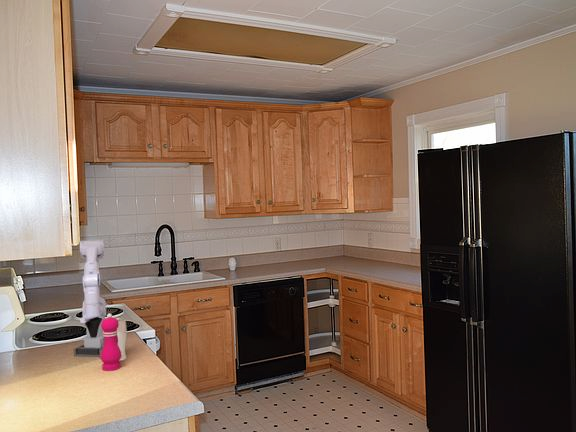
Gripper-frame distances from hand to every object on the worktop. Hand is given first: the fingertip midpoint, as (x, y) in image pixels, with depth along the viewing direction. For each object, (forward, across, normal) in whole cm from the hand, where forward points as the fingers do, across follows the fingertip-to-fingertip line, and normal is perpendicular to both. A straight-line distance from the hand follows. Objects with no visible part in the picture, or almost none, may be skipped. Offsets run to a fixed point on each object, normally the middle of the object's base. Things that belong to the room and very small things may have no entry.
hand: (93, 336), depth 201 cm
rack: (+7, 0, 0) cm, 7 cm away
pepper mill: (+7, +17, +17) cm, 25 cm away
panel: (+6, 0, 0) cm, 6 cm away
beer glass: (+7, +7, +14) cm, 17 cm away
